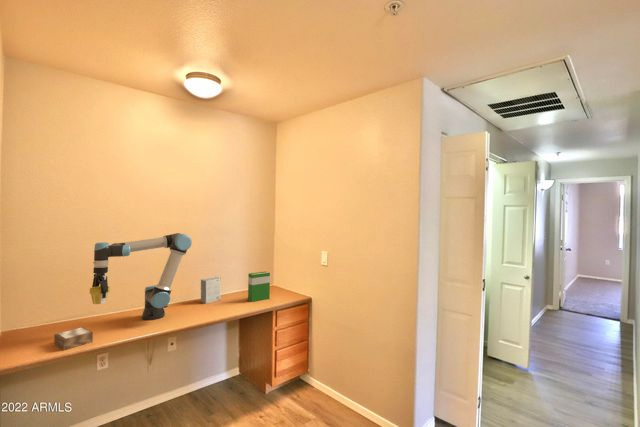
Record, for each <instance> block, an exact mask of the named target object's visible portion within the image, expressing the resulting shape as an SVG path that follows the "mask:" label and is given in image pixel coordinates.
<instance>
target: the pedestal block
mask: <svg viewBox="0 0 640 427" xmlns="http://www.w3.org/2000/svg"><path fill="white" fill-rule="evenodd" d="M93 336H94V335H93V331H92V330H90V329H87V328H85V327H83V326H82V327H78V328H74V329H70V330H66V331H61V332H59V333H58V332H57V333H54V337H53V338H54V339H53V341H54V342H53V344H55V345H54V346H56V347H58V348H59V349H61V350H62V351H66V350H70V349H74V348H77V347H80V346H84V345H87V343H88V344H90V343H91V344H92V343H93V340H94V338H93Z"/></svg>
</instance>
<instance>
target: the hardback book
mask: <svg viewBox="0 0 640 427" xmlns="http://www.w3.org/2000/svg"><path fill="white" fill-rule="evenodd" d="M247 274H248V275H247V276H248V280H247V281H248V282H247V286H248V287H247V301H249V302H250V303H255V302H256V303H257V302H261V301H265V300H270V291H271V290H270V288H271V286H270V284H271V283H270V282H271V272H267V271H260V272H259V271H257V272H250V273H247Z"/></svg>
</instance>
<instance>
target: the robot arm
mask: <svg viewBox="0 0 640 427" xmlns="http://www.w3.org/2000/svg"><path fill="white" fill-rule="evenodd" d="M192 244H193V242H192V239H191V237H190V236H189V235H188V234H186V233H180V232H179V233H178V232H176V233H171V234H168V235H167V234H166V235H162V237H155V238H146V239H138V240H133V241H126V242H119V243H118V242H115V243H112V244H110V243H109V242H106V241H104V242H96V243H95V244H94V248H93V250H94V251H93V254H94V255H93V262H92V264H93V281H92V286H91V288H92V287H98V286H101V291H102V292H101V302H100V304H99V305H101V304H102V303H103V304H106V303H107V299H106V293H107V292H108V286H109V283H108V276H107V275H106V274H107V273H108V272H109V267H108V266H109V258H113V257H114V258H115V257H117V258H118V257H120V258H121V257H123V258H124V257H129V256H130V255H131V253H134V252H140V251H147V250H153V249H160V248H165V249H169V251H170V253H169V255H168V258H167V261H166V263H165V266H164V268H163V271H162V272H161V275H160V278H159V281H158V283H157V284H156V285H149V286H145V288H144V308H143V310H142V313H141V319H142V320H145V321H153V320H158V319H161V318H164V317H165V315H166V313H165V307H167V306H168V305H169V303H170V302H171V296H170V295H171V292H172V291H173V290H172V288H171V287H172V284H173V281H174V279H175V276H176V273H177V271H178V268H179V266H180V264H181V261H182V258H183V256H185V255H186V254H187V252H188V250H189V249H190V248H191V247H192ZM103 304H102V305H103Z"/></svg>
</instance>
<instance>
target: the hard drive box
mask: <svg viewBox="0 0 640 427" xmlns="http://www.w3.org/2000/svg"><path fill="white" fill-rule="evenodd" d="M221 285H222V284H221V277H218V276H212V277H208V278H203V279H200V302H201V303H202V304H204V305H205V304H210V303H213V302H217V301H220V300H221V298H222V296H221Z"/></svg>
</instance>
